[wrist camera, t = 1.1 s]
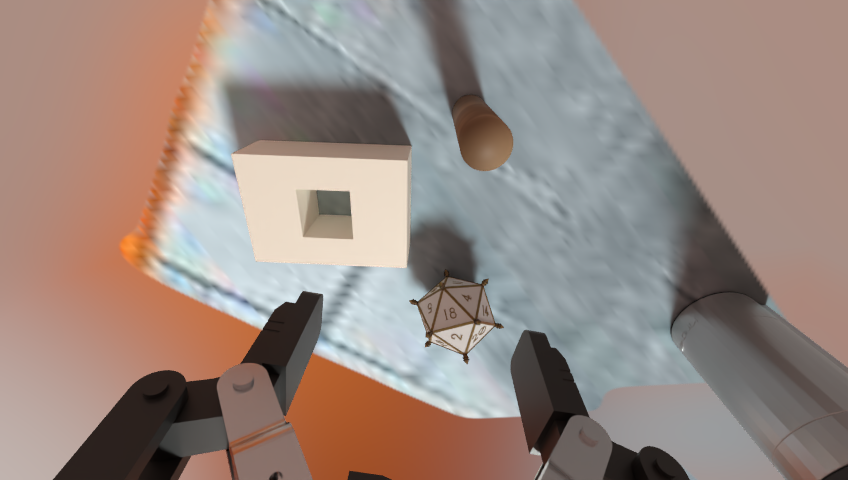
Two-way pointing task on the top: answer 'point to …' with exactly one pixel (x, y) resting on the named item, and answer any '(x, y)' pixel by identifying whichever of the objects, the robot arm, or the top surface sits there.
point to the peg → (481, 134)
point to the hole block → (298, 204)
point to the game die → (456, 314)
